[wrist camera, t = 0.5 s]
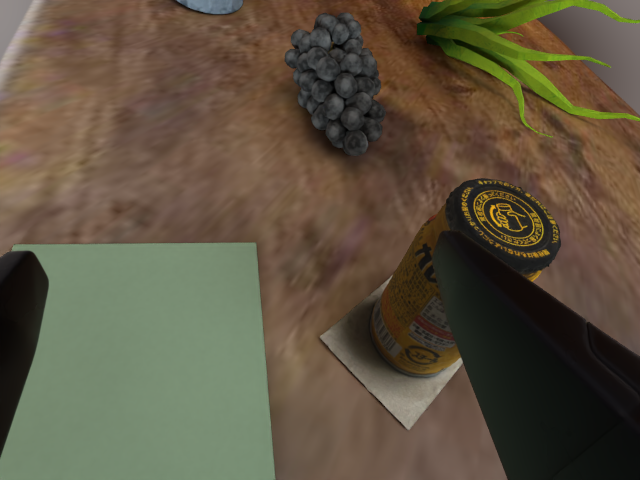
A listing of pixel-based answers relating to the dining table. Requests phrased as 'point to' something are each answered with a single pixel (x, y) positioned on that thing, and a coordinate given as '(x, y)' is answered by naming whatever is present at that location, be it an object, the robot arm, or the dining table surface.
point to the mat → (145, 367)
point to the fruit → (338, 81)
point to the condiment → (437, 296)
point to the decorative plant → (505, 43)
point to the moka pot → (213, 5)
